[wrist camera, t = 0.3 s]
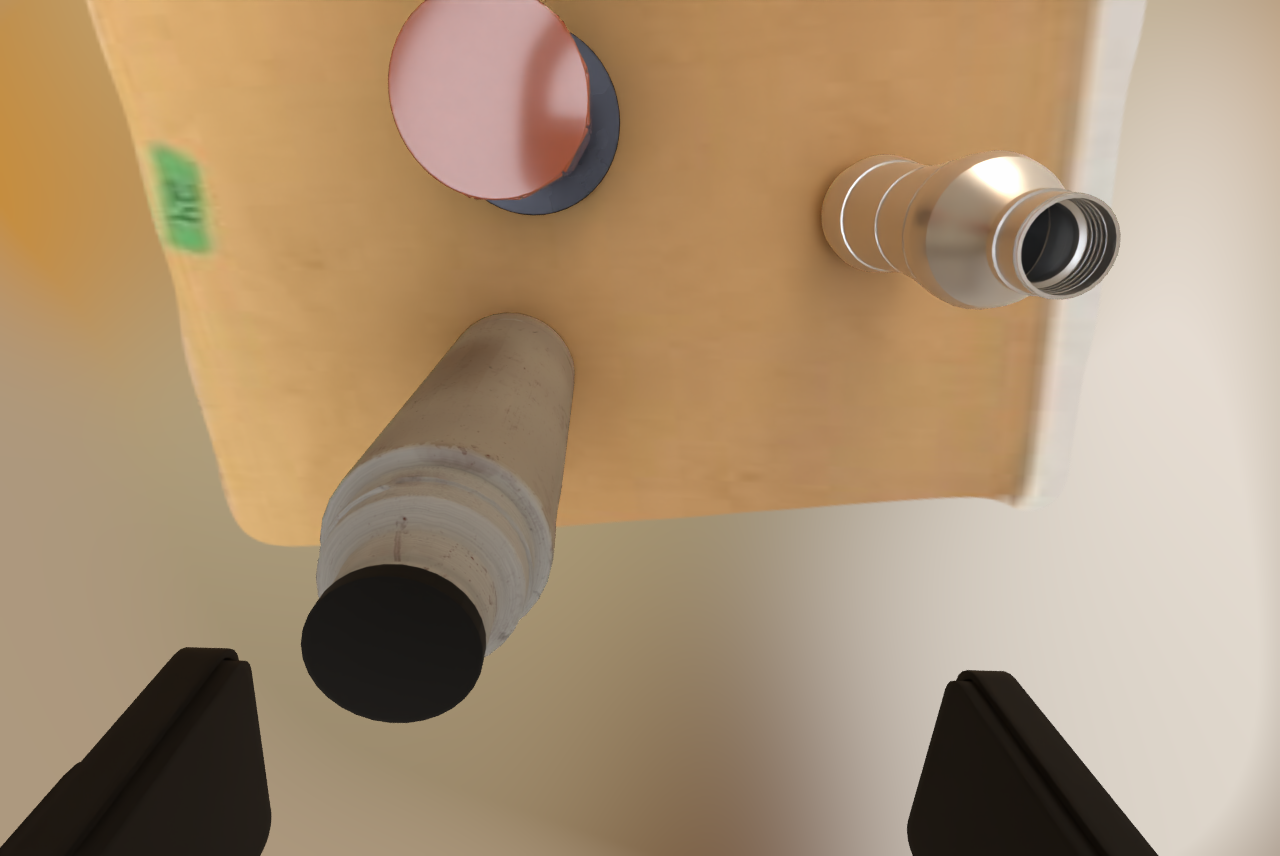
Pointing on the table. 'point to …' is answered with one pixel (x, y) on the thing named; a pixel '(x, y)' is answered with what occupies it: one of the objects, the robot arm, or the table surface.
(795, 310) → the table surface
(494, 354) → the thermos bottle
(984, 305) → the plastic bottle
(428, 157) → the cup
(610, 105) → the bowl
